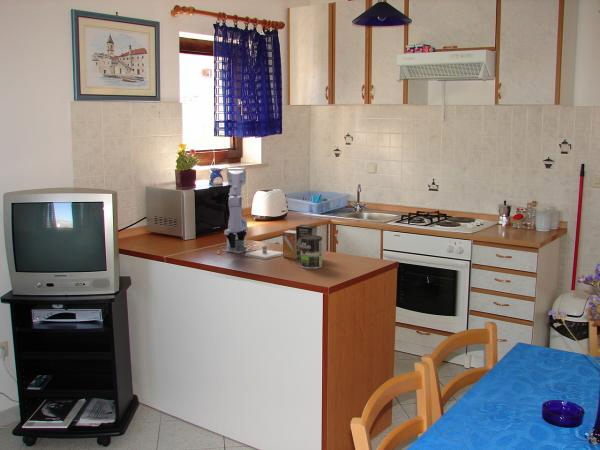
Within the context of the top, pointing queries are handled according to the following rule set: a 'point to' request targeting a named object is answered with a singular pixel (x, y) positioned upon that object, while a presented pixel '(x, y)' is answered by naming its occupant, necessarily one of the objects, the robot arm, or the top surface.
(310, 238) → the coffee can
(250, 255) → the pin plate
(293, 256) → the small box
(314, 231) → the coffee box
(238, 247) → the jaw block
